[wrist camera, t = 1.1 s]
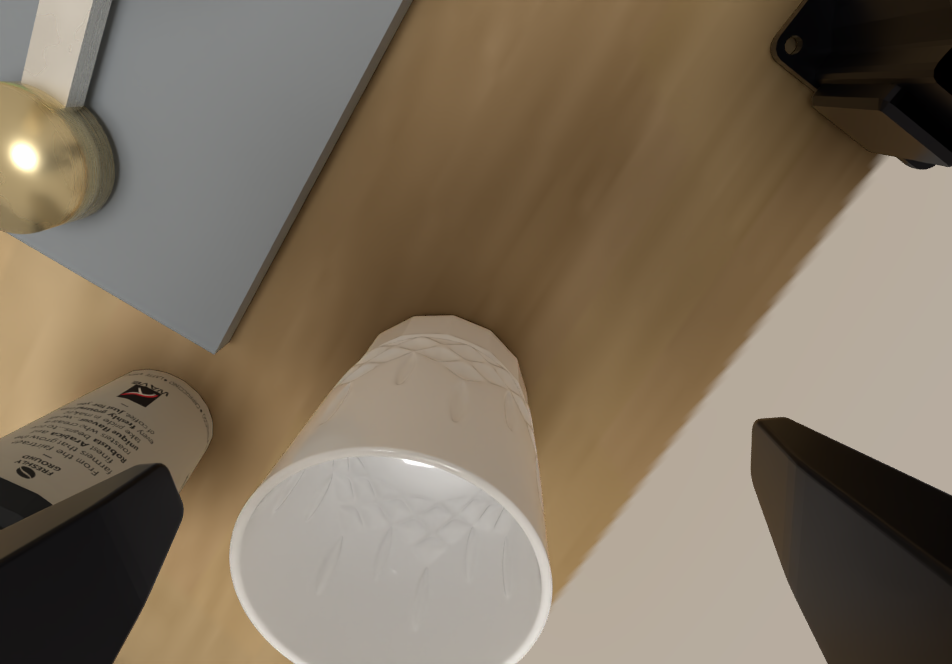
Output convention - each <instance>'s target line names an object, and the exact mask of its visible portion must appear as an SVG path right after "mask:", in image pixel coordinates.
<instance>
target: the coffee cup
mask: <svg viewBox="0 0 952 664" xmlns="http://www.w3.org/2000/svg"><path fill="white" fill-rule="evenodd" d="M212 436H213V421H212V418H211V415H210V412H209V409H208V407H207V405H206V404H205V402H204V401H203V400H202V398H201V397H200V395H199V394H198V393H197V392H196V391H195V390H194V389H193V388H191V387H190V386H189V385H188V384H187V383H186V382H184V381H183V380H181V379H179V378H177V377H175V376H173V375H170V374H168V373H165V372H160V371H155V370H150V369H149V370H138V371H132V372H130V373H128V374H126V375H124V376H121V377H119V378H117V379H115V380H114V381H112V382H110V383H108V384H106V385H104V386H102V387H100V388H98V389H96V390H94V391H92V392H90V393H88V394H86V395H84V396H82V397H80V398H78V399H76V400H74V401H73V402H71V403H69V404H67V405H65V406H63V407H61V408H59V409H57V410H55V411H53V412H51V413H49V414H47V415H45V416H43V417H41V418H39V419H37V420H35V421H33V422H32V423H30V424H28V425H26V426H24V427H22V428H20V429H18V430H16V431H14V432H12V433H10V434H8V435H6V436H4V437H2V438H0V530H2V529H4V528H6V527H8V526H10V525H13V524H15V523H17V522H19V521H21V520H23V519H25V518H27V517H29V516H31V515H33V514H35V513H37V512H39V511H42V510H44V509H46V508H48V507H50V506H52V505H54V504H56V503H58V502H60V501H62V500H64V499H66V498H68V497H71V496H73V495H75V494H77V493H79V492H81V491H83V490H85V489H87V488H89V487H91V486H93V485H95V484H97V483H100V482H102V481H104V480H106V479H108V478H110V477H112V476H114V475H116V474H118V473H120V472H122V471H124V470H126V469H129V468H131V467H133V466H135V465H138V464H147V463H162V464H164V465H166V466H167V467H168V469H169V470H170V473H171V475H172V478H173V480H174V483H175V485H176V488H177V490H178V493H180V492H181V490H182V488H183V487H184V485H185V484H186V482H187V480H188V479H189V477H190V476H191V474H192V472H193V471H194V469H195V467H196V466H197V464H198V463H199V461H200V459H201V458H202V456H203V455H204V453H205V451H206V450H207V448H208V445H209V443H210V441H211V438H212Z"/></svg>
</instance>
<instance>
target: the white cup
mask: <svg viewBox="0 0 952 664" xmlns="http://www.w3.org/2000/svg"><path fill="white" fill-rule="evenodd" d="M229 561H230V571H231V577H232V581H233V585H234V588H235V591H236V594H237V597H238V599H239V601H240V603H241V605H242V607H243V609H244V611H245V613H246V614H247V616H248V618H249V619H250V621H251V622H252V624H253V625H254V626H255V628H256V629H257V630H258V631H259V632H260V634H261V635H262V636H263V637H264V638H265V639H266V640H267V641H268V642H269V643H270V644H271V645H272V646H273V647H274V648H275V649H276V650H277V651H279V652H280V653H281V654H282V655H284V656H285V657H286V658H287V659H289V660H290V661H292V662H293V663H294V664H516V663H517V662H519V661H520V660H521V659H522V658H523V657H524V656H525V655H526V654H527V653H528V651H529V650H530V649H531V648H532V647H533V645H534V644H535V642H536V641H537V639H538V638H539V636H540V634H541V632H542V630H543V628H544V626H545V624H546V621H547V618H548V615H549V611H550V607H551V601H552V575H551V566H550V558H549V549H548V541H547V532H546V523H545V514H544V505H543V496H542V487H541V477H540V468H539V462H538V457H537V450H536V443H535V436H534V429H533V422H532V417H531V412H530V409H529V406H528V396H527V391H526V388H525V384H524V381H523V377H522V374H521V370H520V367H519V363H518V360H517V358H516V357H515V356H514V355H513V354H512V353H511V352H510V351H509V350H508V348H507V347H506V346H505V345H504V344H503V343H502V342H501V341H500V340H499V339H498V338H497V337H496V336H495V334H494V333H493V332H492V331H491V330H488V329H486V328H484V327H481V326H479V325H476V324H474V323H471V322H469V321H467V320H464V319H462V318H459V317H457V316H454V315H442V316H413V317H411V318H409V319H407V320H405V321H403V322H401V323H399V324H397V325H395V326H393V327H391V328H390V329H388V330H386V331H384V332H382V333H380V334H379V335H378V336H377V338H376V339H375V340H374V342H373V343H372V345H371V346H370V347H369V349H368V350H367V352H366V353H365V355H364V356H363V357H362V358H361V359H360V360H359V361H358V362H357V363H356V364H355V365H354V366H353V367H351V368H350V369H349V370H348V371H347V372H346V373H345V374H344V376H343V377H342V378H341V379H340V381H339V382H338V383H337V384H336V385H335V387H334V388H333V389H332V390H331V391H330V392H329V393H328V395H327V396H326V397H325V399H324V400H323V401H322V403H321V404H320V405H319V407H318V408H317V409H316V411H315V412H314V413H313V415H312V416H311V417H310V419H309V420H308V421H307V423H306V424H305V425H304V427H303V428H302V429H301V431H300V432H299V433H298V435H297V436H296V437H295V439H294V440H293V441H292V443H291V444H290V445H289V447H288V448H287V449H286V451H285V452H284V453H283V455H282V456H281V457H280V459H279V460H278V461H277V463H276V464H275V465H274V467H273V468H272V469H271V470H270V472H269V473H268V474H267V476H266V477H265V478H264V480H263V481H262V482H261V484H260V485H259V486H258V488H257V489H256V490H255V491H254V493H253V494H252V495H251V497H250V498H249V499H248V501H247V502H246V504H245V505H244V507H243V508H242V510H241V512H240V514H239V516H238V518H237V521H236V523H235V526H234V529H233V533H232V537H231V542H230V553H229Z"/></svg>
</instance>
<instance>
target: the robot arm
mask: <svg viewBox="0 0 952 664" xmlns="http://www.w3.org/2000/svg"><path fill="white" fill-rule="evenodd" d="M790 37H793V38H795V40H796V41H797V47H796V49H795V51H794V52H793V53H792V54H788V53H787V52H786V51H785V43H786V41H787V39H789V38H790ZM771 54H772V57H773V58H774V59H775V61H776V62H778V63H779V64H780V65H781V66H783V67H784V68H785V69H786V70H788V71H789V72H790V73H791V74H793V75H794V76H795V77H796V78H798V79H799V80H800V81H801V82H803V83H804V84H805V85H806V86H808V87H809V88H810V89H811V90H813V91H814V92H815V93H814V94H813V95H812V96H811V98H812V107H813V108H815V109H816V110H817V111H818V112H820V113H821V114H822V115H823V116H825V117H826V118H827V119H828V120H830V121H831V122H832V123H834V124H835V125H836V126H837V127H839V128H840V129H841V130H842V131H844V132H845V133H846V134H847V135H849V136H850V137H851V138H852V139H854V140H855V141H856V142H857V143H859V144H860V145H861V146H863V147H864V148H865V149H866V150H868V151H869V152H873V153H878V154H883V155H888V156H894V157H897V158H898V159H899V160H900V161H902V162H903V163H904V164H905V165H907V166H909V167H911V168H916V169H928V168H931V167H933V166H935V165H941V166H946V167H951V166H952V0H803V1H802V3H801V4H800V5H799V6H798V8H797V9H796V10H795V12H794V13H793V14H792V15H791V17H790V18H789V19H788V21H787V22H786V23H785V24H784V26H783V27H782V28H781V30H780V31H779V32H778V33H777V35H776V36H775V38H774V40H773V41H772V45H771ZM751 449H752V450H751V476H752V482H753V485H754V489H755V491H756V494H757V497H758V500H759V503H760V505H761V508H762V511H763V514H764V517H765V520H766V522H767V525H768V528H769V531H770V534H771V536H772V539H773V542H774V545H775V548H776V551H777V554H778V556H779V559H780V562H781V565H782V567H783V570H784V573H785V575H786V578H787V581H788V583H789V585H790V587H791V590H792V592H793V594H794V596H795V598H796V600H797V602H798V604H799V607H800V609H801V611H802V613H803V615H804V616H805V619H806V621H807V623H808V625H809V627H810V629H811V631H812V633H813V635H814V637H815V639H816V641H817V643H818V645H819V647H820V649H821V651H822V653H823V655H824V657H825V659H826V661H827V663H828V664H952V495H949V494H947V493H945V492H943V491H941V490H939V489H937V488H935V487H933V486H931V485H929V484H926V483H924V482H922V481H920V480H918V479H916V478H914V477H912V476H909V475H907V474H905V473H903V472H901V471H899V470H897V469H895V468H893V467H890V466H888V465H886V464H884V463H882V462H880V461H878V460H876V459H873V458H871V457H869V456H867V455H865V454H863V453H861V452H859V451H857V450H854V449H852V448H850V447H848V446H846V445H844V444H842V443H840V442H837V441H835V440H833V439H831V438H829V437H827V436H825V435H823V434H821V433H818V432H816V431H814V430H812V429H810V428H808V427H806V426H804V425H801V424H799V423H797V422H795V421H793V420H791V419H789V418H786V417H778V418H764V419H758V420H756V421H755V422H754V424H753V428H752V448H751ZM183 511H184V508H183V503H182V500H181V498H180V495H179V493H178V490H177V488H176V485H175V483H174V480H173V478H172V475H171V473H170V470H169V469H168V467H167V466H166V465H164V464H162V463H147V464H138V465H135V466H133V467H131V468H129V469H126V470H124V471H122V472H120V473H118V474H116V475H114V476H112V477H110V478H108V479H106V480H104V481H102V482H100V483H97V484H95V485H93V486H91V487H89V488H87V489H85V490H83V491H81V492H79V493H77V494H75V495H73V496H71V497H68V498H66V499H64V500H62V501H60V502H58V503H56V504H54V505H52V506H50V507H48V508H46V509H44V510H42V511H39V512H37V513H35V514H33V515H31V516H29V517H27V518H25V519H23V520H21V521H19V522H17V523H15V524H13V525H10V526H8V527H6V528H4V529H2V530H0V664H113V662H114V661H115V659H116V657H117V655H118V653H119V652H120V650H121V648H122V646H123V644H124V642H125V641H126V639H127V637H128V635H129V633H130V632H131V630H132V628H133V626H134V624H135V622H136V621H137V619H138V617H139V615H140V613H141V611H142V609H143V607H144V605H145V603H146V601H147V599H148V596H149V594H150V592H151V590H152V588H153V585H154V583H155V581H156V578H157V576H158V574H159V572H160V569H161V567H162V565H163V562H164V560H165V558H166V556H167V553H168V551H169V549H170V546H171V544H172V542H173V540H174V537H175V535H176V533H177V530H178V528H179V526H180V524H181V521H182V518H183Z"/></svg>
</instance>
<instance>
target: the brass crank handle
mask: <svg viewBox="0 0 952 664" xmlns="http://www.w3.org/2000/svg"><path fill="white" fill-rule="evenodd" d="M111 3H112V0H39V5H38V9H37V14H36V18H35V22H34V27H33V31H32V36H31V40H30V45H29V49H28V53H27V58H26V62H25V67H24V71H23V76H22V80H21V81H0V231H3V232H8V233H13V234H31V233H36V232H40V231H43V230H47V229H50V228H53V227H57V226H60V225H63V224H67V223H70V222H73V221H77V220H80V219H83V218H86V217H88V216H90V215H92V214H94V213H95V212H97V211H98V210H99V209H100V208H101V207H102V206H103V205H104V204H105V202H106V201H107V199H108V198H109V196H110V193H111V191H112V188H113V184H114V178H115V162H114V157H113V152H112V149H111V145H110V143H109V140H108V138H107V135H106V134H105V132H104V130H103V128H102V126H101V125H100V123H99V122H98V120H97V119H96V118H95V116H94V115H93V114H92V113H91V112H90V110H89V109H88V108H86V107H85V106H84V102H85V99H86V95H87V91H88V87H89V84H90V80H91V76H92V73H93V69H94V65H95V62H96V58H97V54H98V51H99V47H100V43H101V39H102V36H103V32H104V28H105V25H106V21H107V17H108V14H109V10H110V6H111Z"/></svg>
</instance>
